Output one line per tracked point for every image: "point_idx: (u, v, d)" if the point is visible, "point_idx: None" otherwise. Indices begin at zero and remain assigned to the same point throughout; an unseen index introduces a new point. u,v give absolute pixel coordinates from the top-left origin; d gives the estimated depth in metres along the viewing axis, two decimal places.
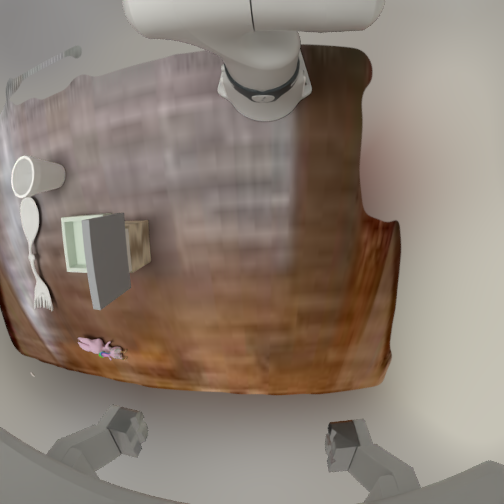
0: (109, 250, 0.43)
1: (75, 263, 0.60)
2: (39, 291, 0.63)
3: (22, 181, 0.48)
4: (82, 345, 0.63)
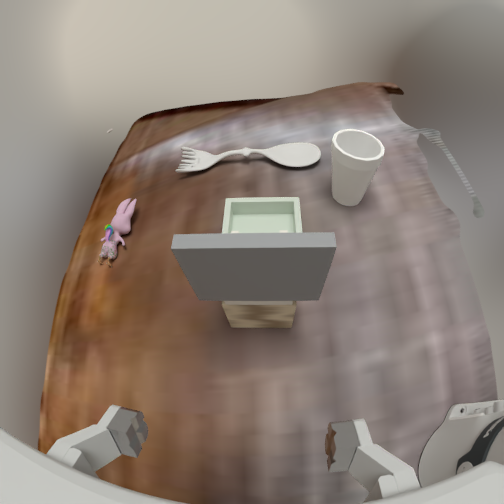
0: (269, 276, 0.28)
1: (234, 212, 0.52)
2: (202, 157, 0.62)
3: (348, 145, 0.49)
4: (125, 203, 0.53)
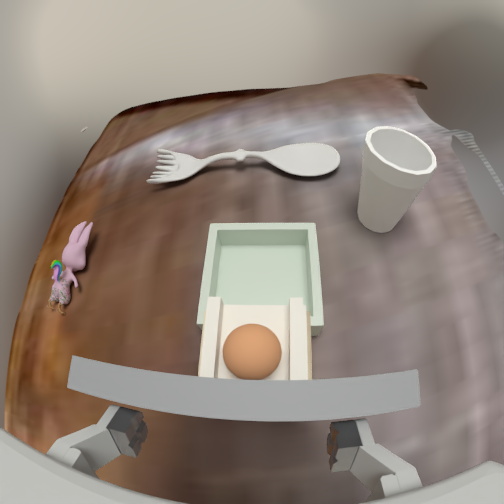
0: None
1: (222, 242, 0.37)
2: (182, 162, 0.47)
3: (383, 148, 0.33)
4: (79, 229, 0.38)
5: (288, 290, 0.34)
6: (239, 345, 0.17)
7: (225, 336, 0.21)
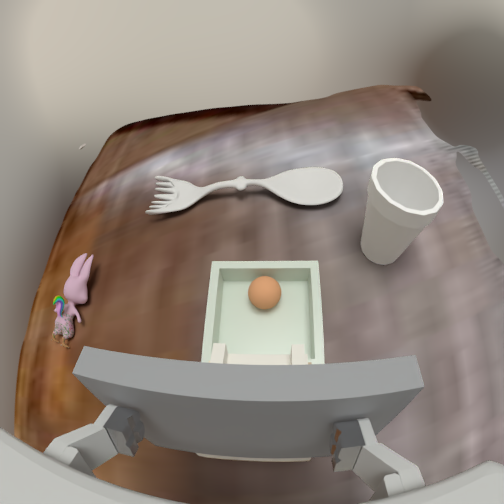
0: (274, 437, 0.12)
1: (225, 278, 0.37)
2: (182, 190, 0.47)
3: (389, 180, 0.33)
4: (79, 261, 0.38)
5: (290, 328, 0.33)
6: None
7: None
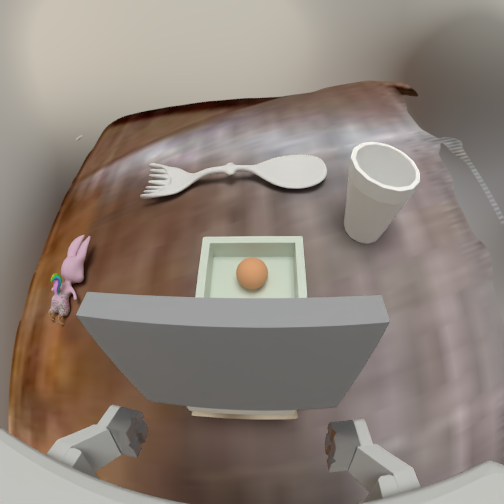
0: (257, 379, 0.14)
1: (215, 254, 0.39)
2: (174, 176, 0.49)
3: (369, 163, 0.36)
4: (77, 242, 0.39)
5: None
6: (246, 259, 0.35)
7: None
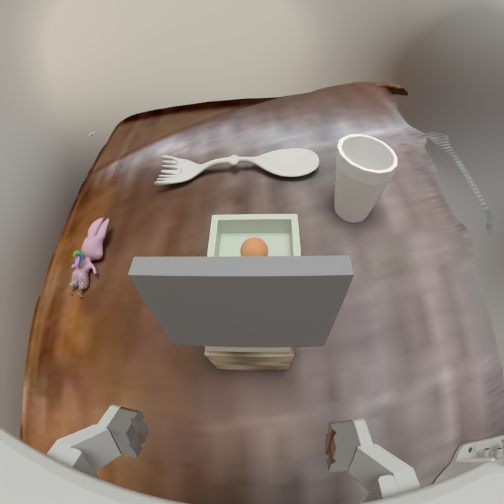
0: (261, 317, 0.20)
1: (222, 230, 0.45)
2: (184, 166, 0.55)
3: (354, 152, 0.42)
4: (97, 224, 0.45)
5: None
6: (249, 242, 0.40)
7: None
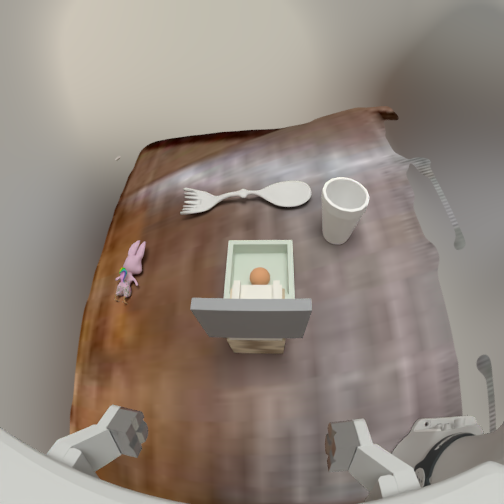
0: (263, 325, 0.36)
1: (236, 251, 0.61)
2: (203, 198, 0.70)
3: (337, 191, 0.57)
4: (135, 246, 0.61)
5: None
6: (255, 281, 0.54)
7: None
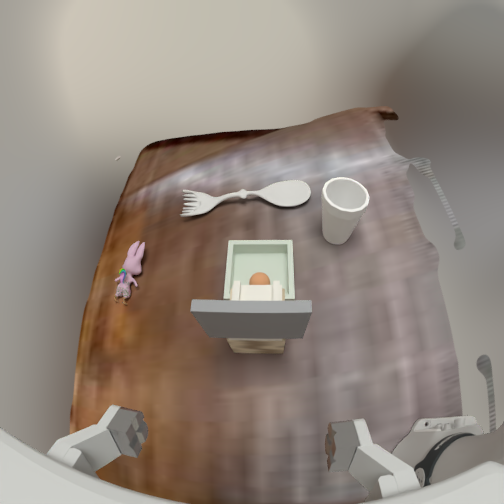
0: (263, 326, 0.36)
1: (236, 251, 0.61)
2: (202, 199, 0.70)
3: (337, 191, 0.57)
4: (135, 246, 0.61)
5: (276, 280, 0.57)
6: None
7: (242, 300, 0.45)
